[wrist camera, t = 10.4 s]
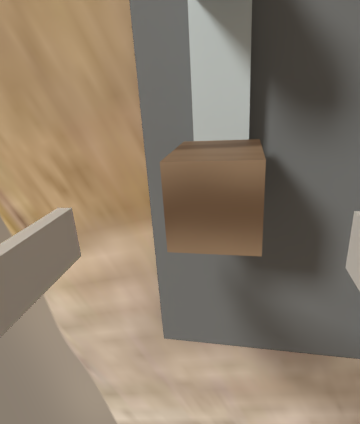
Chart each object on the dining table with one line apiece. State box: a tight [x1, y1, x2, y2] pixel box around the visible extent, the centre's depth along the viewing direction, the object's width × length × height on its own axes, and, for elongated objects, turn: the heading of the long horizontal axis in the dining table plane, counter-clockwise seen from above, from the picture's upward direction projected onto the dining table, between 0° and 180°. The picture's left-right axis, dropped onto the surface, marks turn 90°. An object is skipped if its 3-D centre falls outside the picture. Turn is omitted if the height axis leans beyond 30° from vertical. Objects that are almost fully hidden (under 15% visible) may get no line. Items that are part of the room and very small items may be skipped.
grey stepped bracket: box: [188, 0, 252, 141], centre depth 18 cm, size 20×4×10 cm, turn 3°
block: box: [160, 139, 266, 256], centre depth 20 cm, size 6×6×7 cm
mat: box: [129, 0, 360, 359], centre depth 24 cm, size 32×28×1 cm
